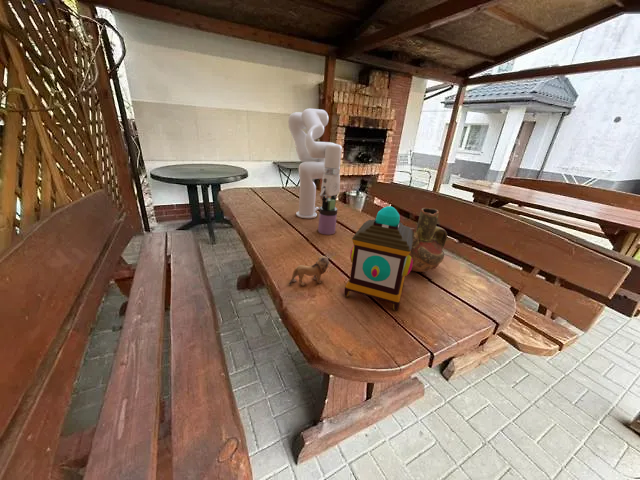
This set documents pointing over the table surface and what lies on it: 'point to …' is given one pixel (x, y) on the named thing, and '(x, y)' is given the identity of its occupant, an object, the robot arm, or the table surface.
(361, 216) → the table surface
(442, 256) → the ceramic vessel
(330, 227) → the jar
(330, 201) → the block
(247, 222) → the table surface
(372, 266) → the decorative lantern
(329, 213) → the jar lid
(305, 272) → the lion figurine
